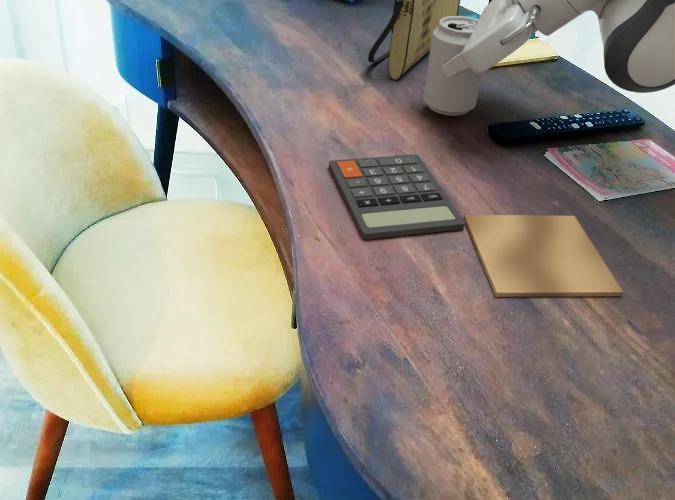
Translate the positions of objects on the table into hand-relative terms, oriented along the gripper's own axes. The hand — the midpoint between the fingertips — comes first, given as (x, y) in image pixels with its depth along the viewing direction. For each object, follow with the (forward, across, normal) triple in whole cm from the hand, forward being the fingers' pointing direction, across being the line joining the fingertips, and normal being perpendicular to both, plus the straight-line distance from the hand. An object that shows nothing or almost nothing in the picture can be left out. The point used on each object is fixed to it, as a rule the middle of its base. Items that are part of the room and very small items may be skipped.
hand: (451, 59), depth 88 cm
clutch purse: (+13, +20, +1) cm, 24 cm away
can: (+4, 0, -6) cm, 7 cm away
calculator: (+6, -24, -5) cm, 26 cm away
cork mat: (-6, -29, -17) cm, 34 cm away
